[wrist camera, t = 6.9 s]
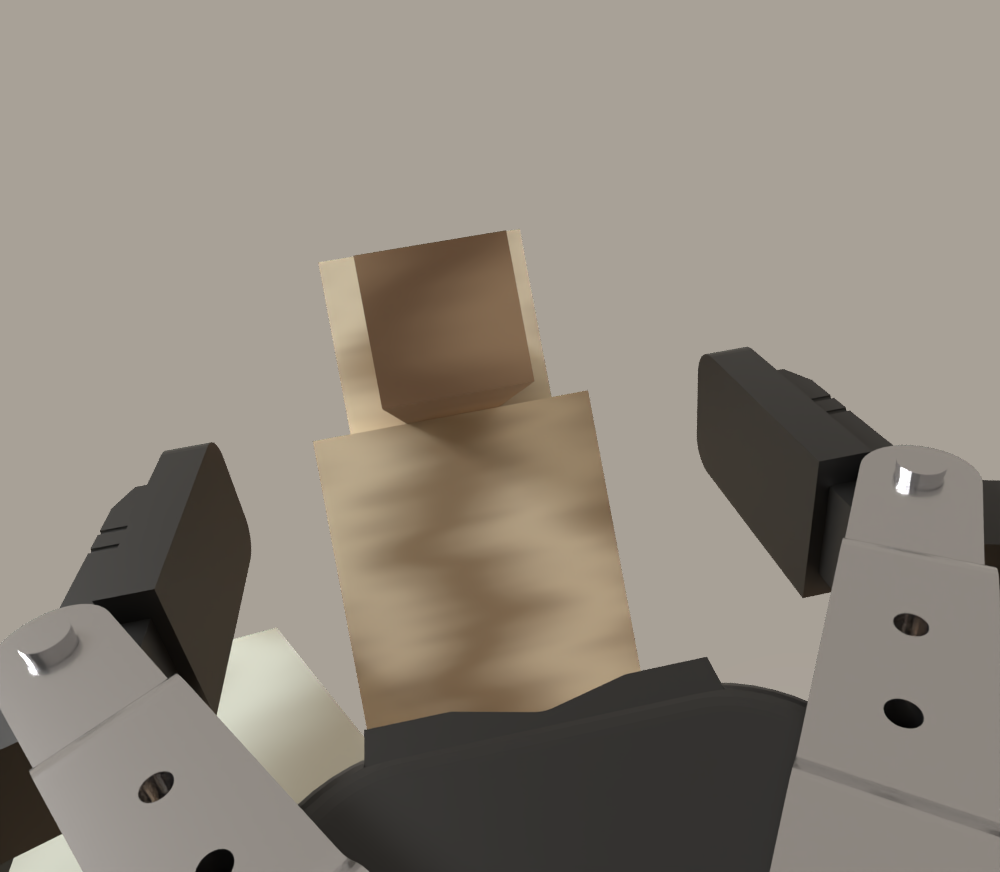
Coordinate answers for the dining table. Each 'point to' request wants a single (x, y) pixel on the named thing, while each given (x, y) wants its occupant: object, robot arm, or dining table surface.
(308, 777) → the cream-topped wooden box
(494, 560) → the wooden block
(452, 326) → the brown tan long block
